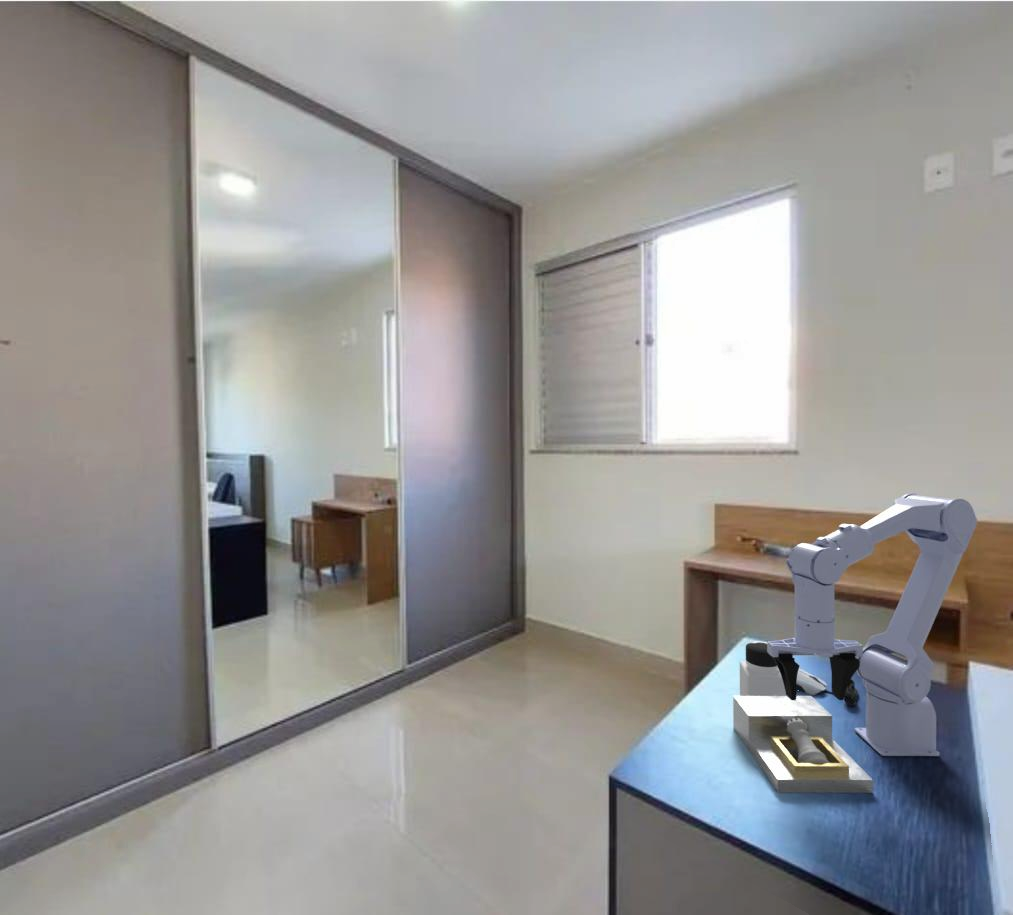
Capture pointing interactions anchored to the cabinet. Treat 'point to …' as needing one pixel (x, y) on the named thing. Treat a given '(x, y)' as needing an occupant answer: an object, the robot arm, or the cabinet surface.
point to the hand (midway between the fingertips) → (814, 697)
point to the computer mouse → (823, 687)
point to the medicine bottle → (760, 672)
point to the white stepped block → (777, 751)
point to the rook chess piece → (804, 743)
